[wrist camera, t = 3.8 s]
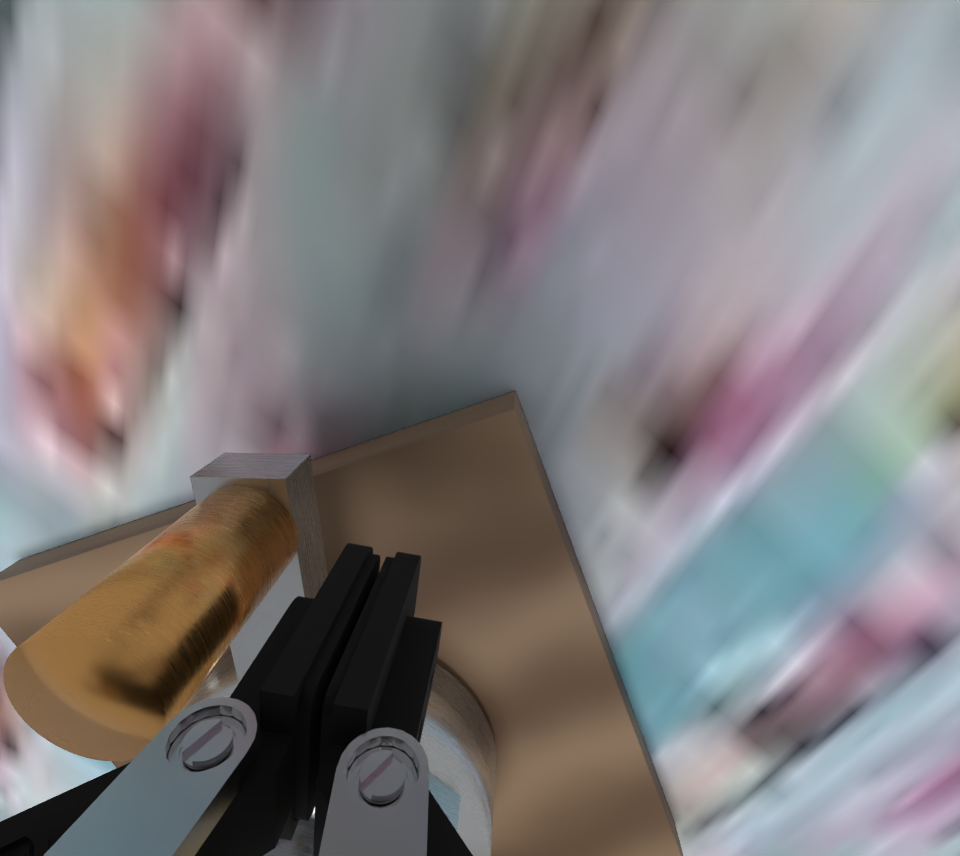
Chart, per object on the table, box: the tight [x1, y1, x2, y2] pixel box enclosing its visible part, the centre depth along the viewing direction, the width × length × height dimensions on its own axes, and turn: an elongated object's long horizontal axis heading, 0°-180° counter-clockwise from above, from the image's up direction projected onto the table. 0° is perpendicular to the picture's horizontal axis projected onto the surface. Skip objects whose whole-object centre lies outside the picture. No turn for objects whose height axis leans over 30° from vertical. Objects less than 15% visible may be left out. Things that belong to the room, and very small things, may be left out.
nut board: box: [0, 391, 683, 856], centre depth 21 cm, size 22×22×2 cm
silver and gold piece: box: [3, 453, 496, 856], centre depth 15 cm, size 20×12×8 cm, turn 1°
